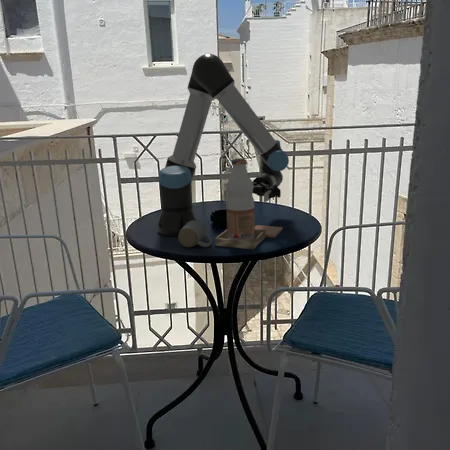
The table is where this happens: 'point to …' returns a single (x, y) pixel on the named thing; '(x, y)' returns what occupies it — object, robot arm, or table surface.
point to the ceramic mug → (193, 235)
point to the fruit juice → (240, 203)
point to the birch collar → (223, 241)
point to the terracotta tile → (269, 230)
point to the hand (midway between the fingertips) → (245, 197)
